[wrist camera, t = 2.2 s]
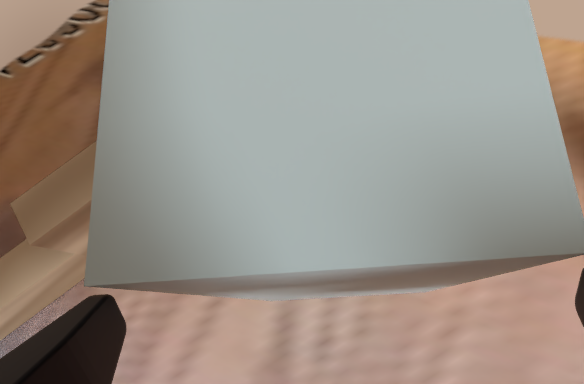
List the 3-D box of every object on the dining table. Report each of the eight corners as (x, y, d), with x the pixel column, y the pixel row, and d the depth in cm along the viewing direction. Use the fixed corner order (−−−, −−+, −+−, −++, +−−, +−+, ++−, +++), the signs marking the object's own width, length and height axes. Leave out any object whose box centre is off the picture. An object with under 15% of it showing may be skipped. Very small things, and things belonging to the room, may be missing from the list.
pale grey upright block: (425, 292, 17) (592, 252, 5) (271, 300, 18) (83, 286, 6) (407, 158, 19) (496, -124, 7) (267, 172, 20) (113, -52, 7)
